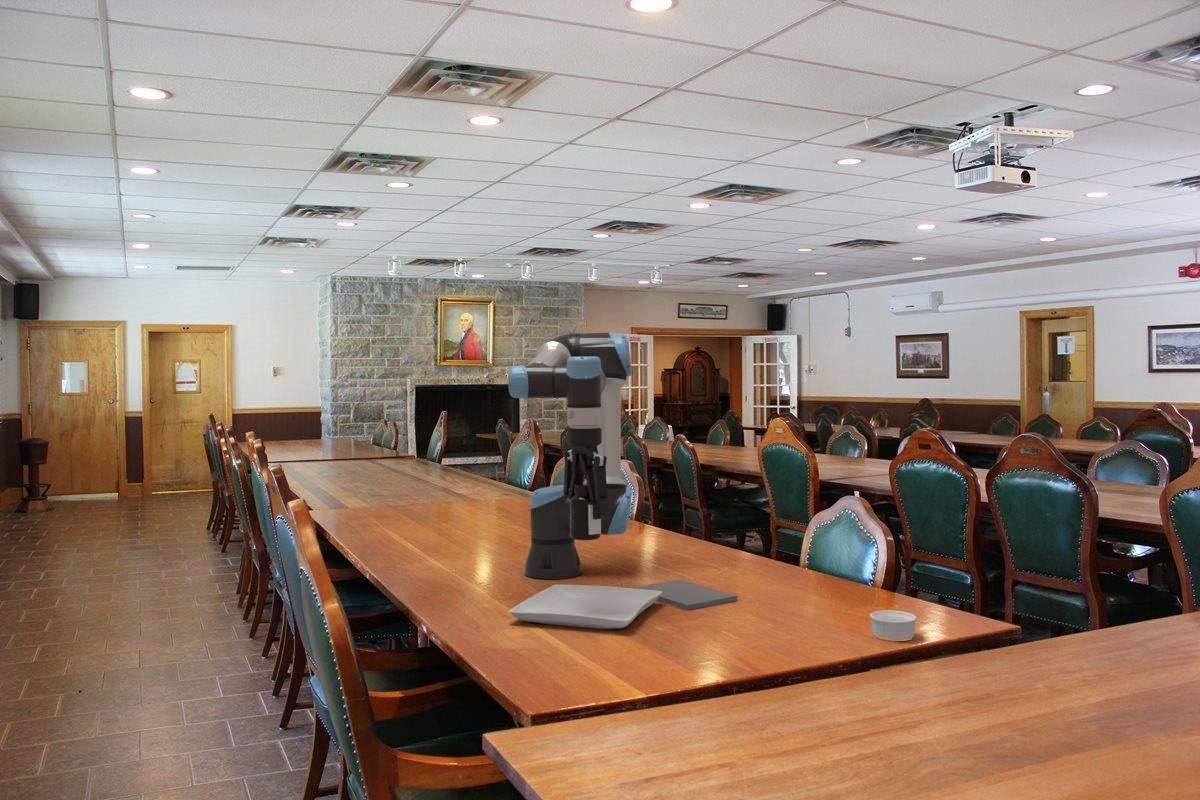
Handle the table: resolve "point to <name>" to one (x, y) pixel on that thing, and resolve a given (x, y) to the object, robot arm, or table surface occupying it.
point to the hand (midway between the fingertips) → (585, 531)
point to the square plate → (585, 606)
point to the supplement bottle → (580, 514)
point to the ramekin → (893, 624)
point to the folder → (689, 594)
